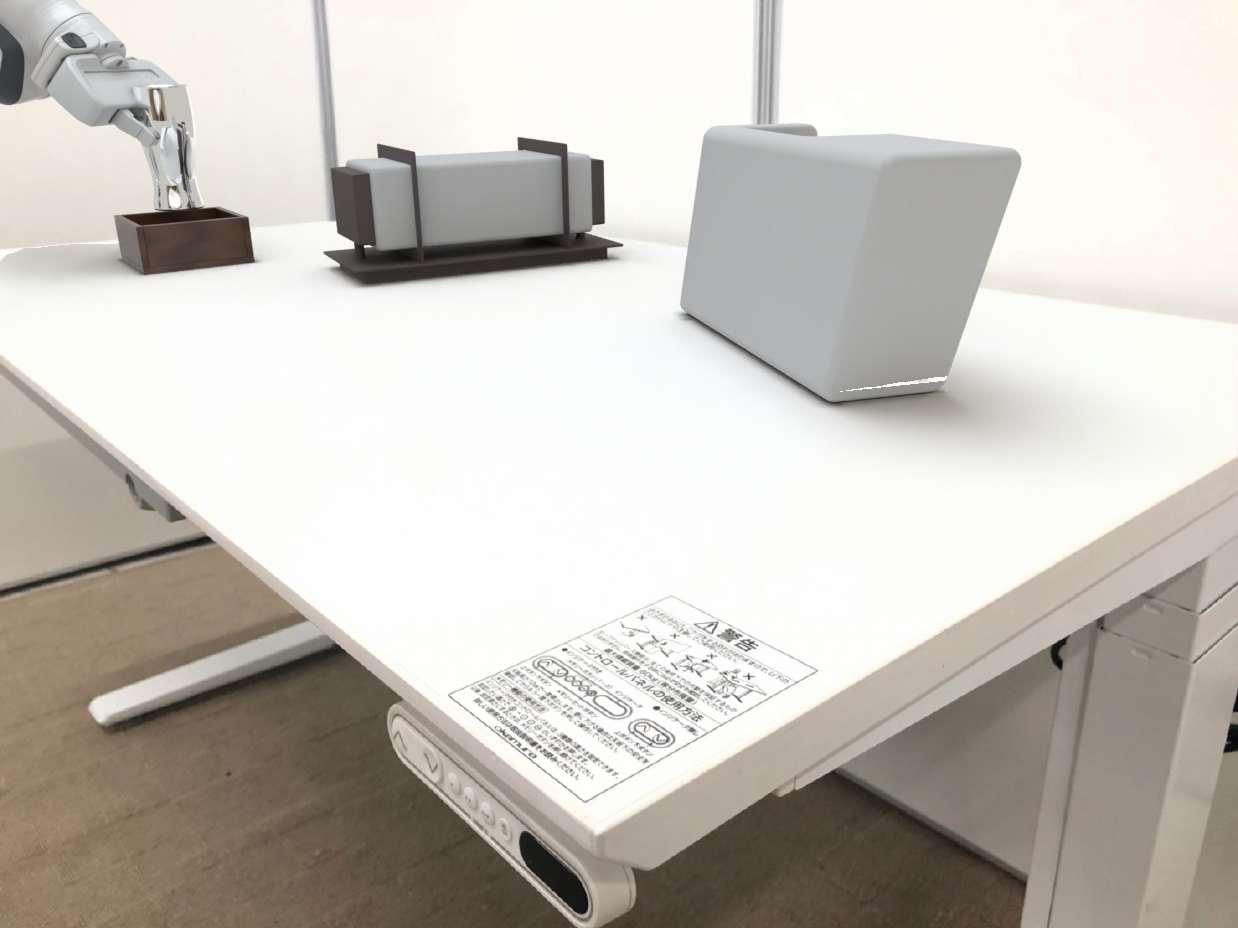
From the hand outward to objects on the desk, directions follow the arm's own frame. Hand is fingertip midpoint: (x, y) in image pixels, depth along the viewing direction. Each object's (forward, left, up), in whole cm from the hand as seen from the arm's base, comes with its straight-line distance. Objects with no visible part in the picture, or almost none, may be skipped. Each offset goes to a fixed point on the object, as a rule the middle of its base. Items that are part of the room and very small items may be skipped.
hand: (173, 140), depth 134 cm
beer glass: (0, +1, -9) cm, 9 cm away
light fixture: (+28, -26, -15) cm, 41 cm away
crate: (-1, 0, -15) cm, 15 cm away
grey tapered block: (+30, -84, -15) cm, 90 cm away
